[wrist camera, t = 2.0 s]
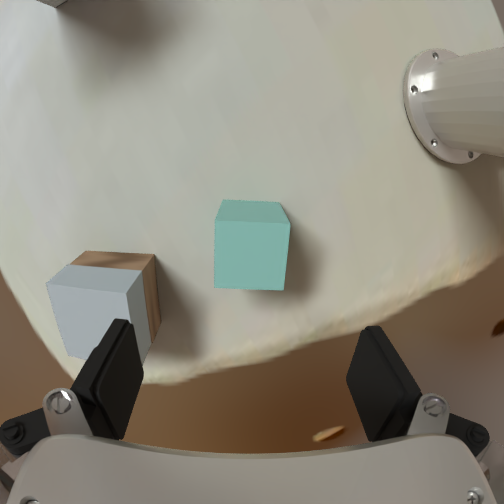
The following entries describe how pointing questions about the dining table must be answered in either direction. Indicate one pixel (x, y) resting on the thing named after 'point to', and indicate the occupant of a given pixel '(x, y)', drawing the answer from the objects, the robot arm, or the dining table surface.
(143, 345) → the tower top
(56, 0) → the skincare box
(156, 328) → the tower base
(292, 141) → the dining table surface
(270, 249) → the block
